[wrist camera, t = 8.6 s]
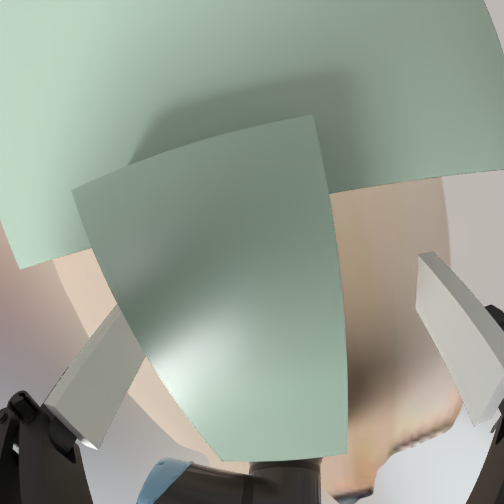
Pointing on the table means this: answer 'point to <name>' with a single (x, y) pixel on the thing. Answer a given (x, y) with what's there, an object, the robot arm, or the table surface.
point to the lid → (235, 176)
